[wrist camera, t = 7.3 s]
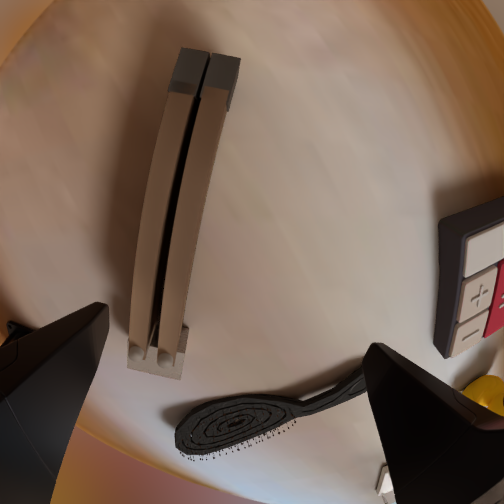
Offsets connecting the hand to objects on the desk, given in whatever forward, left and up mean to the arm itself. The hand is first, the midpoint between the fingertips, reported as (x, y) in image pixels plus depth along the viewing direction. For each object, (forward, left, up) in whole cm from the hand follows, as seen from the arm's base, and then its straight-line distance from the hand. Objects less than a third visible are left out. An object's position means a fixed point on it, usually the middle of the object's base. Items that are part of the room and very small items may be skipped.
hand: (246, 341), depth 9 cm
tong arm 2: (-5, +1, -12) cm, 13 cm away
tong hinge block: (-4, -11, -12) cm, 17 cm away
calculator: (+25, +1, -13) cm, 28 cm away
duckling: (+41, -15, -13) cm, 45 cm away
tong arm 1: (-3, +1, -12) cm, 13 cm away
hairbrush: (+9, -18, -13) cm, 24 cm away
